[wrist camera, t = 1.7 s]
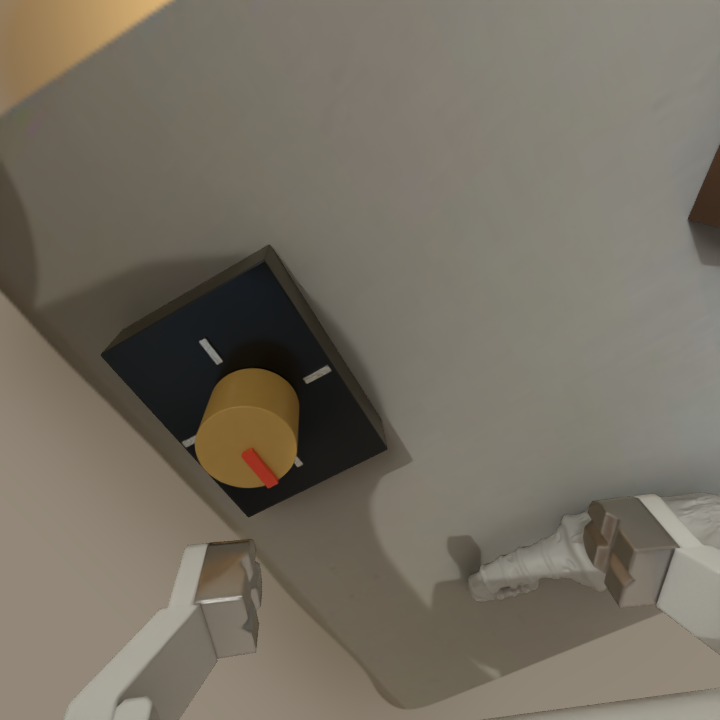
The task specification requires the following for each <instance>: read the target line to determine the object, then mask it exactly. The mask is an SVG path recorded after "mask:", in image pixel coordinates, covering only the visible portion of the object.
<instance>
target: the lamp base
mask: <svg viewBox="0 0 720 720" xmlns="http://www.w3.org/2000/svg"><path fill="white" fill-rule="evenodd" d="M688 219H689V220H692V221H696V222H700V223H703V224H707V225H711V226H714V227H718V228H720V146H719V148H718V150H717V153H716V155H715V157H714V160H713V162H712V164H711V166H710V169H709V171H708V173H707V176H706V178H705V180H704V183H703V185H702V187H701V190H700V192H699V194H698V197H697V199H696V201H695V204H694V206H693V208H692V211H691V213H690V215H689V217H688Z"/></svg>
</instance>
